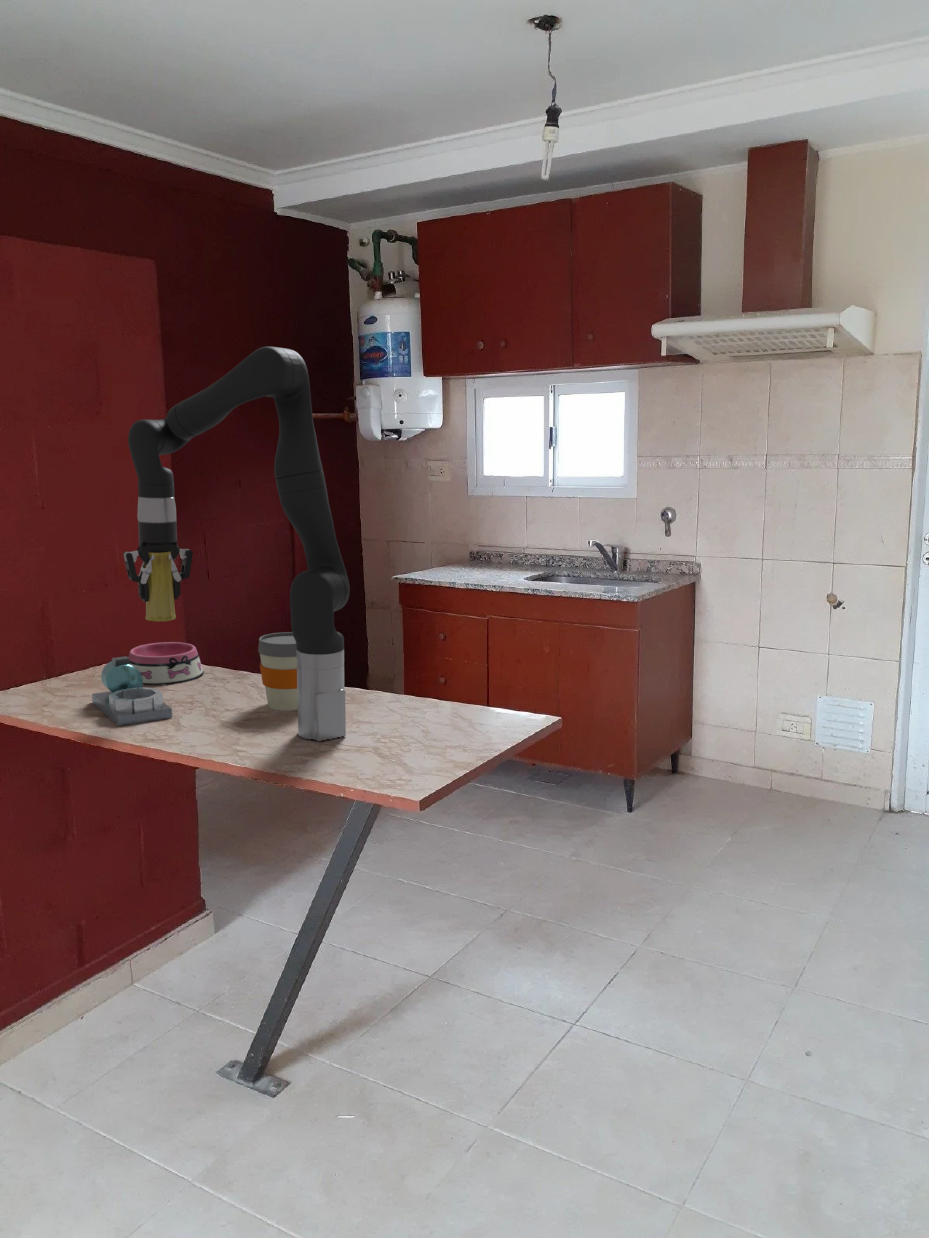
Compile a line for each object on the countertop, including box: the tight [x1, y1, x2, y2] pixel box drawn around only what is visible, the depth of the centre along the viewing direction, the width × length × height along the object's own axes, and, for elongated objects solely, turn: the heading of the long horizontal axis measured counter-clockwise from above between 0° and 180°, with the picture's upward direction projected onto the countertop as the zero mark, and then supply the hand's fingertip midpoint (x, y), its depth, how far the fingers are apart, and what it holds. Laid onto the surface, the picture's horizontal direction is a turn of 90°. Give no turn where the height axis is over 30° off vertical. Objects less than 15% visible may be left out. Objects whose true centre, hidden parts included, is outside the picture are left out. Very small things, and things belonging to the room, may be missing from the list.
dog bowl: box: [127, 641, 205, 686], centre depth 233 cm, size 18×19×7 cm
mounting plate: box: [91, 655, 173, 727], centre depth 204 cm, size 20×11×10 cm, turn 35°
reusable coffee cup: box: [257, 631, 298, 712], centre depth 209 cm, size 13×13×15 cm
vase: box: [145, 551, 177, 622], centre depth 200 cm, size 6×6×14 cm
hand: (160, 599), depth 200 cm, fingers closed on vase, 5 cm apart
